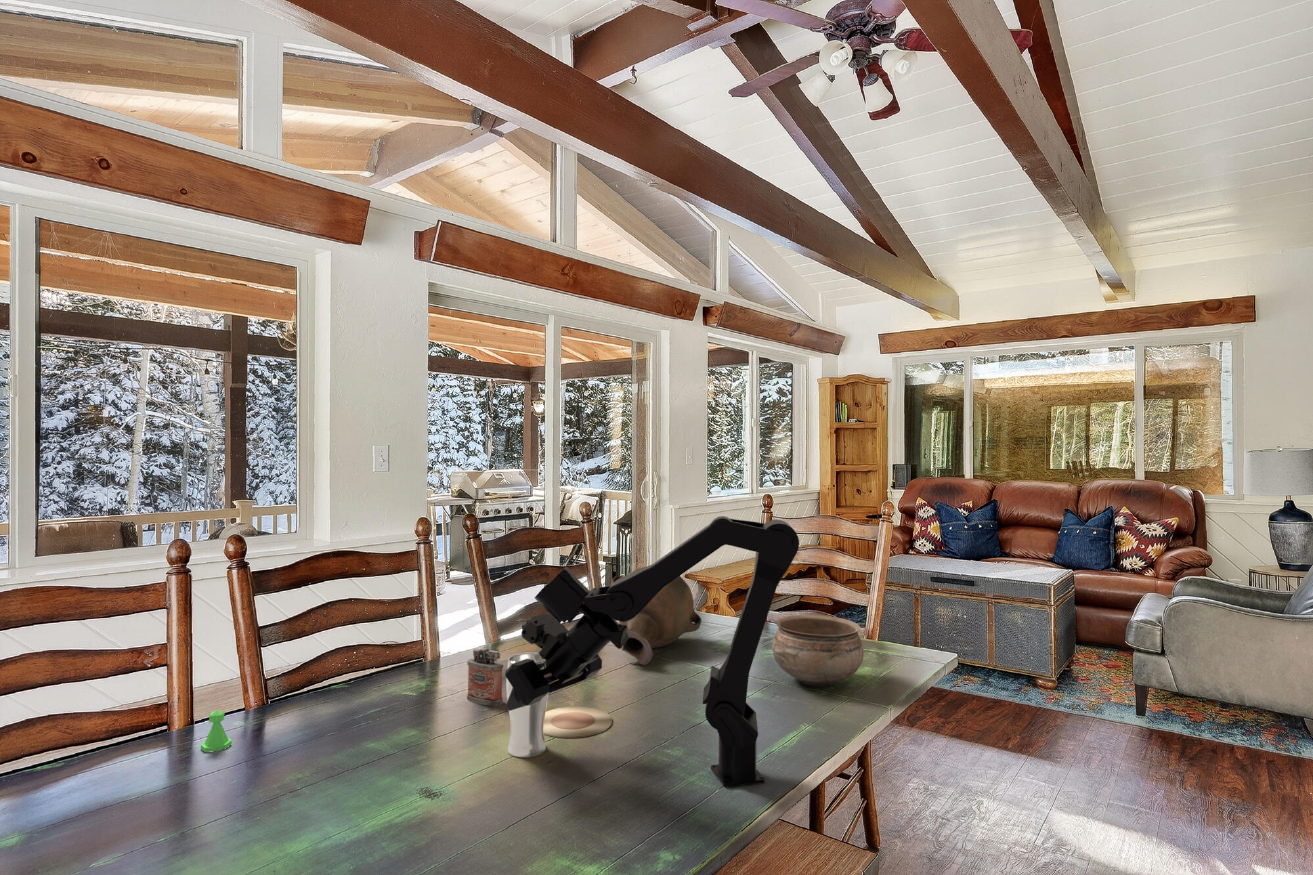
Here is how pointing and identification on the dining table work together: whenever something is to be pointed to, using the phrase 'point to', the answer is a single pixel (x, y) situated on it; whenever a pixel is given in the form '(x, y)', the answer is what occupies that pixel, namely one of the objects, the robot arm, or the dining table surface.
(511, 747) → the silver tall cup
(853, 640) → the cooking pot
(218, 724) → the game piece
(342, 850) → the dining table surface
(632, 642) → the jug
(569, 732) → the coaster
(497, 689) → the lighter
